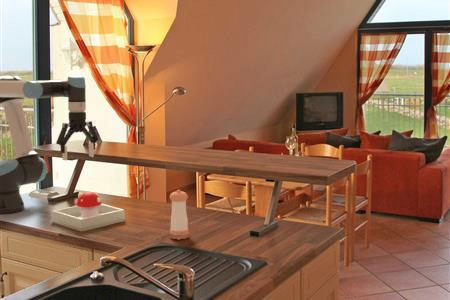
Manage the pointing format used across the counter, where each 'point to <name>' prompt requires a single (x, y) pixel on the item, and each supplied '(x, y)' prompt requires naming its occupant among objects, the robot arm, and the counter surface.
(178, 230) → the pepper shaker
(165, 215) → the counter surface
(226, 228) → the counter surface
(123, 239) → the counter surface
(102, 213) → the tub
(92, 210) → the mushroom
